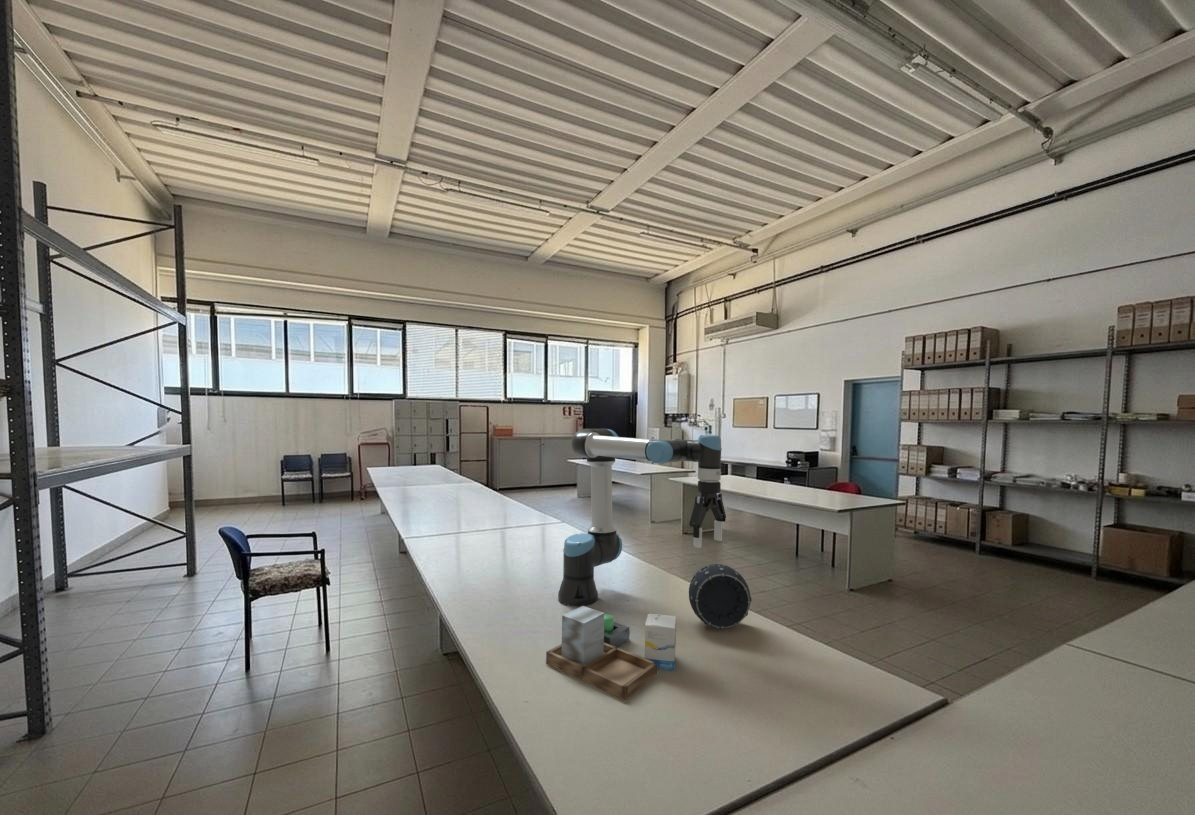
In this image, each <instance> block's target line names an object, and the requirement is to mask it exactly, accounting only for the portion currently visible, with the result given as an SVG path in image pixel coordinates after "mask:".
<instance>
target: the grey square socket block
mask: <svg viewBox="0 0 1195 815" xmlns="http://www.w3.org/2000/svg"><path fill="white" fill-rule="evenodd" d="M630 630H631V628H630V626H628V625H625V624H622V623H620V622H617V621H614V630H613V631H611V632H609V633H608V632H605V631H604V643H607V644H609V645H612V646H615V647H617V648H619V647H622V645H624V644H626V643H627V642H629V641H630V632H631V631H630Z"/></svg>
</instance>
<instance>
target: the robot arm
mask: <svg viewBox="0 0 1195 815" xmlns="http://www.w3.org/2000/svg"><path fill="white" fill-rule="evenodd" d="M721 439H722V438H721V436H720V435H714V434H712V435H711V434H710V435H709V434H700V435H699V436H698V439H697V440H692V439H682V438H675V439H674V438H672V439H670V440H669V439H650V438H641V437H640V438H638V437H625V436H623V437H622V436H619V435H618V434H617V433H616V431H614V430H613V429H609V428H603V427H602V428H583V429H579V430H578V431H576V432H575V433H574V435H573V436H572V438H571V442H570V443H571V445H570V446H571V449H572V451H573V452H574V454H575V455H576V456H577V457H579V458H583V459H586V463H587V464H588V465H589V466H590V507H591V509H590V510H591V512H590V513H591V514H590V515H591V516H590V517H591V519H590V520H591V525H590V526H589V527H588V528H587V533H583V532H581V533H575V534H572V535H569V536H568V537H566V538H565V540H564V542H563V543H564V544H563V549H562V550H563V564H562V565H563V571H562V572H563V574H562V576H563V577H562V581H561V584H560V587H559V590H558V592H557V594H558V596H557V598H558V599H557V600H558V601H559V602H560V603H561V604H563V605H565V606H566V605H567V606H573V607H581V606H585V607H587V606H590V605H593V604H595V603H596V602H598V600H599V591H598V590H597V585H596V582H595V578H594V577H595V567H596V568H597V567H598V566H601V565H604V564H608V563H611V562H613V561H615V560H616V559H618V557H620V556H621V554H622V551H623V540H622V538H621V537H620V534H619V533H618V532H617V528H616V527H615V526H614V525H613V524H614V523H613V480H612V479H613V473H612V470H613V469H612V468H613V467H612V466H613V465H614V464H615V463H616V458H617V459H626V460H636V461H646V462H652V463H653V464H659V465H660V464H661V465H663V464H667V463H668V464H669V463H677V462H693V463H697V479H698V481H697V491H698V493H700V496H695V498H694V504H693V508H692V512H691V516H690V521H689V525H688V526H690V528H691V527H692V528H693V531H692V532H693V533H692V534H693V538H692V539H693V540H692V541H693V542H692V546H693V547H694V548H697V549H702V548H703V547H702V546H703V541H702V540H703V528H702V524H703V522H704V520H705V516H706V514H707V512H709V511H710V510H711V511H712V514H713V517H714V518H715V519H714V522H713V526H714V527H713V530H714V531H713V541H719V542H722V541H723V522H724V523H725V522H726V519H727V516H726V515H727V514H726V510H725V507H724V502H723V493H722V492H721V485H722V484H721V481H720V480H721V476H722V472H721V471H722V470H721V469H722V466H721V464H722V463H721V461H722V450H723V449H722V440H721Z"/></svg>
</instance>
